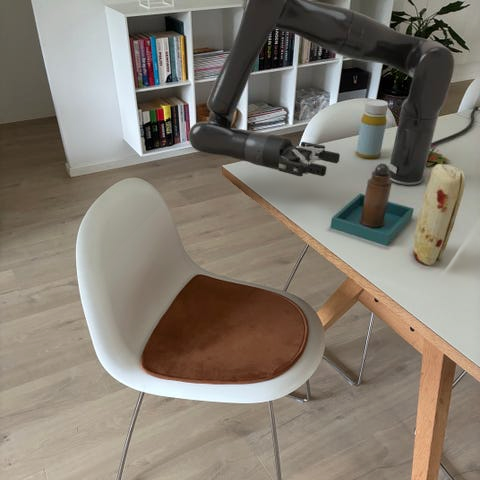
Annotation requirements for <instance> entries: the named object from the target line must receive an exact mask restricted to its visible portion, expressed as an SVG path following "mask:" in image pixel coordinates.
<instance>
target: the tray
mask: <svg viewBox="0 0 480 480" xmlns="http://www.w3.org/2000/svg"><path fill="white" fill-rule="evenodd" d="M364 199H365V193H359V194H358V195H356V196H355V197H354V198H353V199H352V200H350V201H349V202H348V203H347V204H346V205H345V206H344V207H343V208H341V209H339V211H338V212H336V214H335V215H333V216H332V217H331V221H330V229H332V230H335V231H339V232H341V233H344V234H347V235H351V236H353V237H357V238H360V239H363V240H367V241H370V242H373V243H376V244H379V245H382V246H385V247H388V246H389V244H390V243H391V242H392V241H393V240H394V239H395V238H396V237H397V236H398V234H399V233H400V232H401V231H402V230H403V229H404V228H405V226H406V225H407V224H409V222H410V221H411V220H412V218H413V213H414V210H415V208H413V207H409V206H406V205H403V204H400V203H395V202H391V201H388V204H387V209H386V213H385V218H384V221H385V222H384V226H383V227H381V228H378V229H371V228H368V227H365V226H362V225H361V224H360V217H361V215H362V210H363V204H364Z"/></svg>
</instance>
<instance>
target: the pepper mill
mask: <svg viewBox="0 0 480 480" xmlns="http://www.w3.org/2000/svg"><path fill="white" fill-rule="evenodd" d="M390 176H391V174H390V173H389V167H388V164H386V163H380V164H378V165H377V166H376V167H375V169H374V170H373V171H372V172H371V177H370V178H368V179H367V183H366V189H365V193H364V195H365V199H364V204H363V210H362V215H361V217H360V224H361V225H362V226H365V227H368V228H371V229H378V228H381V227H383V226H384V222H385V221H384V218H385V213H386V209H387V204H388V202H389V199H390V194H391V191H392V185H393V182H392V181H390Z"/></svg>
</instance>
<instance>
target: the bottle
mask: <svg viewBox="0 0 480 480" xmlns="http://www.w3.org/2000/svg"><path fill="white" fill-rule="evenodd" d="M388 108H389V102H388V101H386V100H383V99H374V98H373V99H372V98H371V99H367V100H366V101H365V104H364V111H363V115H362V117H361V120H360V126H359V132H358V138H357V144H356V151H355V152H356V154H357V156H358V157H359V158H361V159H365V160H374V159H377V158H379V156H380V155H381V152H382V146H383V143H384V136H385V131H386V127H387V112H388Z"/></svg>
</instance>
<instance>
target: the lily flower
mask: <svg viewBox="0 0 480 480" xmlns="http://www.w3.org/2000/svg"><path fill="white" fill-rule="evenodd" d="M430 148H431V150H430V151H429V155H428V159H427V163H426V166H427V167H430V166H432V165H434V164H435V163H437V164H443V165H444V163H443V162H452V160H450V159H448V158H446V157H443V156H444V154H442V153H438V152H439V151H440V149H437V148H438V145H435V146H431V147H430ZM435 150H436V151H435Z"/></svg>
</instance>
